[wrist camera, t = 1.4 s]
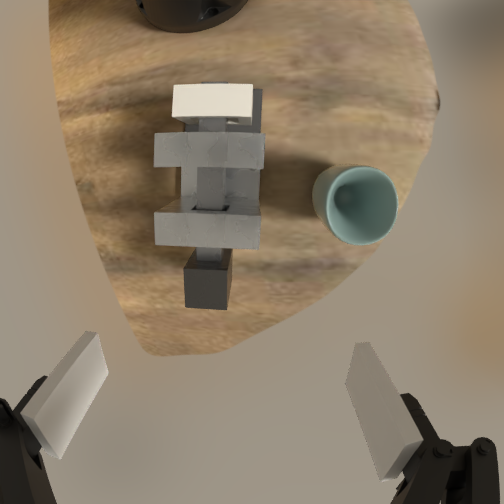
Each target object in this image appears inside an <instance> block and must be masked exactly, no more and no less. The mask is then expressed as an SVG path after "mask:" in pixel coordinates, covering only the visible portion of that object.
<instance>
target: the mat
mask: <svg viewBox="0 0 504 504" xmlns="http://www.w3.org/2000/svg"><path fill="white" fill-rule="evenodd" d="M261 110H262V89H253V106H252V125H228V132H240V133H260V130H261ZM185 132H199V124H194V125H188V124H186V125H185Z"/></svg>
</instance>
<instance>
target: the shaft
mask: <svg viewBox="0 0 504 504" xmlns="http://www.w3.org/2000/svg"><path fill="white" fill-rule="evenodd" d="M201 84H228V82H202V83H201ZM199 132H228V118H199ZM225 180H226V167H197V209H196V210H205V211H225ZM232 252H233V248H211V247H196V248H195V250H194V252H193V253H192V255H191V257H190V258H189V260H188V262H187V263H186V265H185V267H184V291H185V307H187V308H200V309H216V310H227V307H228V300H229V294H230V288H231V282H232Z"/></svg>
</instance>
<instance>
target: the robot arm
mask: <svg viewBox="0 0 504 504" xmlns="http://www.w3.org/2000/svg"><path fill="white" fill-rule="evenodd" d="M136 2H137V5H138V8H139V10H140V12H141V13H142V14H143V15H144V17H145V18H146V19H147V20H148V21H149V22H150V23H151V24H153V25H154V26H156V27H158V28H160V29H162V30H166V31H170V32H177V33H188V32H196V31H202V30H206V29H209V28H212V27H215V26H217V25H219V24H221V23H223V22H225V21H227V20H228V19H230V18H231V17H233V16H234V15H235V14H237V13H238V12H239V11H240V10H241V9H242V8H243V6H244V5H245V4H246V2H247V0H136ZM108 374H109V372H108V369H107V366H106V362H105V359H104V355H103V351H102V348H101V344H100V340H99V336H98V333H96V332H88V331H86V332H85V333H84V334H83V335H82V336H81V337H80V338H79V340H78V341H77V342H76V343H75V344H74V346H73V347H72V348H71V349H70V351H69V352H68V353H67V354H66V355H65V356H64V358H63V359H62V360H61V361H60V363H59V364H58V365H57V366H56V368H55V369H54V370H53V371H52V373H51V374H50V375H49V376H43V377H41V378H40V379H38V380H37V381H36V382H35V383H34V384H33V386H32V387H31V389H29V390H28V392H27V394H25V396H24V397H23V398H22V399H21V401H20V402H19V403H18V405H17V406H16V407H15V409H14V410H13V411H12V409H11V407H10V406H9V404H8V402H7V401H6V400H5V399H2V398H0V504H57V503H56V500H55V497H54V494H53V492H52V489H51V486H50V483H49V480H48V477H47V473H46V470H45V466H44V463H43V459H42V456H41V454H40V452H39V451H40V449H41V447H42V448H43V449H44V451H45V452H46V453H47V454H48V455H50V456H52V457H55V458H57V459H61V458H62V456H63V454H64V452H65V450H66V448H67V446H68V444H69V442H70V441H71V439H72V437H73V435H74V433H75V431H76V429H77V428H78V426H79V424H80V422H81V420H82V418H83V417H84V415H85V413H86V411H87V410H88V408H89V406H90V404H91V402H92V401H93V399H94V397H95V396H96V394H97V392H98V390H99V389H100V387H101V385H102V384H103V382H104V380H105V379H106V377H107V375H108ZM345 384H346V387H347V390H348V392H349V395H350V398H351V400H352V403H353V406H354V408H355V411H356V414H357V417H358V419H359V422H360V425H361V428H362V430H363V433H364V436H365V439H366V442H367V444H368V447H369V450H370V453H371V456H372V459H373V462H374V465H375V468H376V471H377V473H378V477H379V480H380V482H383V481H387V480H391V479H395V478H397V477H398V476H399V474H400V473H401V472H402V471H403V474H404V476H405V478H404V479H403V481H402V482H401V483H400V484H399V485H398V487H397V488H396V489H397V492H396V494H395V496H394V498H393V500H392V502H391V504H439V503H440V501H441V504H500V489H499V473H498V461H497V452H496V447H495V444H494V443H493V442H492V441H491V440H490V439H488V438H485V437H481V438H477V439H475V440H474V441H473V443H472V444H471V445H470V446H458V447H455V446H453V445H452V444H451V443H450V442H448V441H446V440H443V439H440V438H439V437H438V435H437V433H436V432H435V430H434V428H433V426H432V425H431V423H430V421H429V419H428V418H427V416H425V412H424V411H423V409H422V407H421V406H420V404H419V402H418V400H417V399H416V398H414V397H413V396H412V395H411V394H409V393H406V394H401V395H399V393H398V391H397V389H396V387H395V386H394V384H393V382H392V381H391V379H390V377H389V375H388V373H387V372H386V370H385V368H384V366H383V365H382V363H381V361H380V359H379V358H378V356H377V354H376V353H375V351H374V349H373V347H372V346H371V344H370V343H369V342H365V343H364V342H363V343H356V344H355V347H354V352H353V356H352V360H351V364H350V368H349V372H348V375H347V379H346V383H345Z"/></svg>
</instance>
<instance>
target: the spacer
mask: <svg viewBox="0 0 504 504" xmlns="http://www.w3.org/2000/svg"><path fill="white" fill-rule="evenodd" d="M252 106H253V84H186V85H174V91H173V106H172V117H173V118H175V119H178V120H180V121H182V122H184V123H186V124H188V125H194V124H199V118H228V125H252Z"/></svg>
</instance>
